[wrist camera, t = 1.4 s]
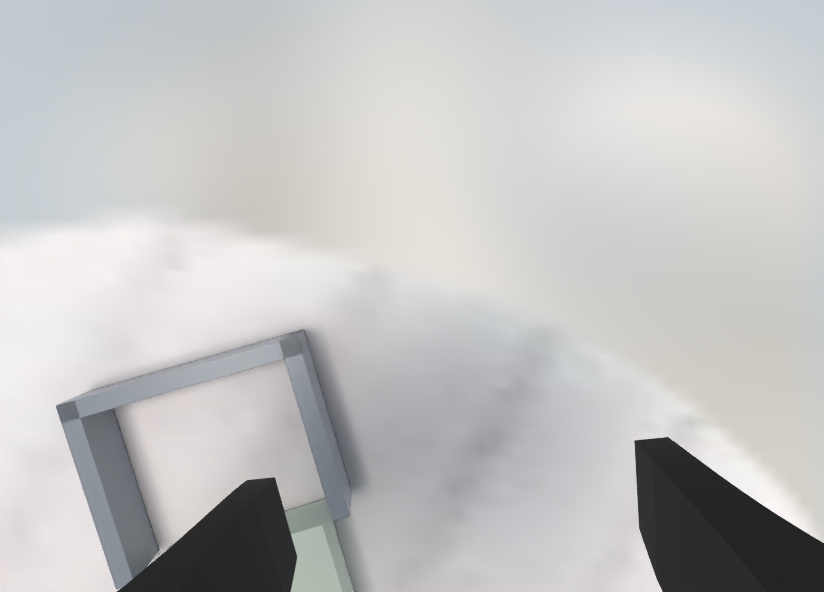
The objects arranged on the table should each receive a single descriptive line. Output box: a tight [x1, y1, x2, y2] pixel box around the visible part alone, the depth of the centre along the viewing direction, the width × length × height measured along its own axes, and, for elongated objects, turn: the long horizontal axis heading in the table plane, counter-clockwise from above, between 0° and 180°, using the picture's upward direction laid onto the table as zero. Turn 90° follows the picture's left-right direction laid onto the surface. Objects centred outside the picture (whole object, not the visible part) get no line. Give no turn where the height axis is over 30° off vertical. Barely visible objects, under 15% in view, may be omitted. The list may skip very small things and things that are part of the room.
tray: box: [56, 329, 351, 589], centre depth 26 cm, size 11×8×3 cm
